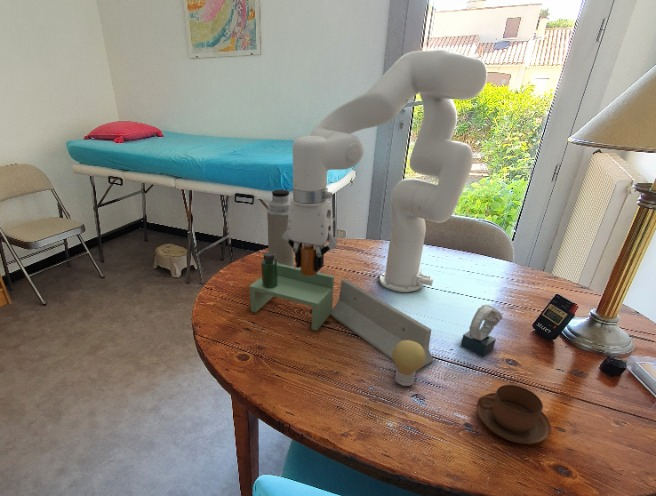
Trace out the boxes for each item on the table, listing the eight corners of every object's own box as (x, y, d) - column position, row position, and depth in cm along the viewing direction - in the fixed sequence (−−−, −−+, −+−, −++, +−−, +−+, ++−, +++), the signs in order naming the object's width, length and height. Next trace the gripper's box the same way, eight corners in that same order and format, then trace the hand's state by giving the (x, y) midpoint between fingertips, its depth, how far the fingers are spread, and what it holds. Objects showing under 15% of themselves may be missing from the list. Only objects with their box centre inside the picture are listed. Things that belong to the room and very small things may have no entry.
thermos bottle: (270, 272, 132) (268, 187, 119) (294, 272, 132) (295, 187, 118) (267, 283, 125) (265, 194, 112) (293, 284, 125) (293, 195, 111)
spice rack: (332, 312, 110) (334, 275, 105) (317, 330, 103) (318, 292, 97) (268, 295, 119) (267, 260, 114) (250, 311, 111) (248, 275, 106)
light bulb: (421, 376, 87) (429, 338, 82) (417, 396, 82) (425, 357, 77) (391, 368, 89) (397, 331, 84) (385, 387, 84) (391, 348, 79)
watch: (497, 346, 95) (509, 307, 90) (478, 360, 91) (490, 319, 86) (474, 335, 99) (485, 297, 94) (455, 348, 95) (465, 308, 90)
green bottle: (280, 283, 109) (280, 252, 104) (272, 289, 105) (272, 258, 101) (267, 279, 110) (266, 249, 106) (259, 286, 107) (257, 255, 103)
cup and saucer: (493, 450, 70) (502, 425, 67) (464, 400, 80) (470, 376, 77) (562, 449, 70) (574, 424, 67) (524, 399, 80) (533, 375, 77)
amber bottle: (320, 270, 101) (321, 236, 97) (313, 277, 98) (313, 243, 93) (305, 267, 103) (305, 234, 98) (297, 273, 100) (297, 240, 95)
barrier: (330, 315, 109) (332, 282, 104) (350, 307, 112) (353, 275, 107) (411, 372, 88) (418, 335, 83) (432, 361, 91) (441, 324, 86)
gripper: (351, 194, 90) (346, 268, 99) (284, 186, 97) (286, 255, 106) (338, 204, 84) (335, 281, 93) (269, 195, 92) (272, 267, 101)
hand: (309, 266), depth 100 cm, fingers closed on amber bottle, 4 cm apart
